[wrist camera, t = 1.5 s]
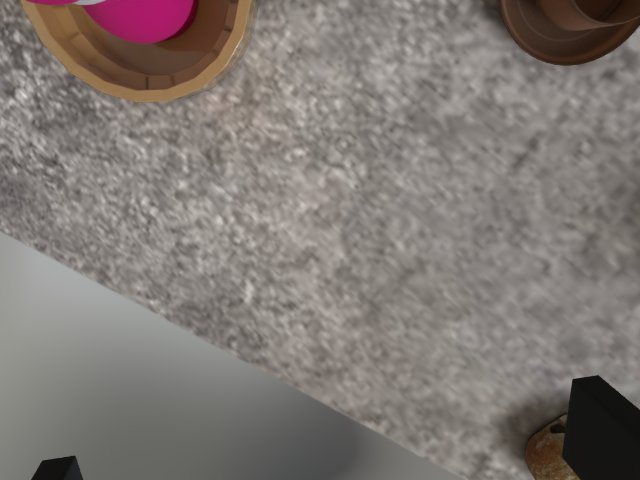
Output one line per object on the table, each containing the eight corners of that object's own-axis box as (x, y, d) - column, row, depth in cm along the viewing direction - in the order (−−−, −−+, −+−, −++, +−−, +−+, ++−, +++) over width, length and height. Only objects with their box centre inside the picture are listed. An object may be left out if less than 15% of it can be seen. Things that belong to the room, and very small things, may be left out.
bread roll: (580, 387, 51) (613, 411, 43) (631, 468, 50) (674, 509, 42) (502, 425, 52) (521, 455, 44) (550, 505, 51) (577, 551, 43)
